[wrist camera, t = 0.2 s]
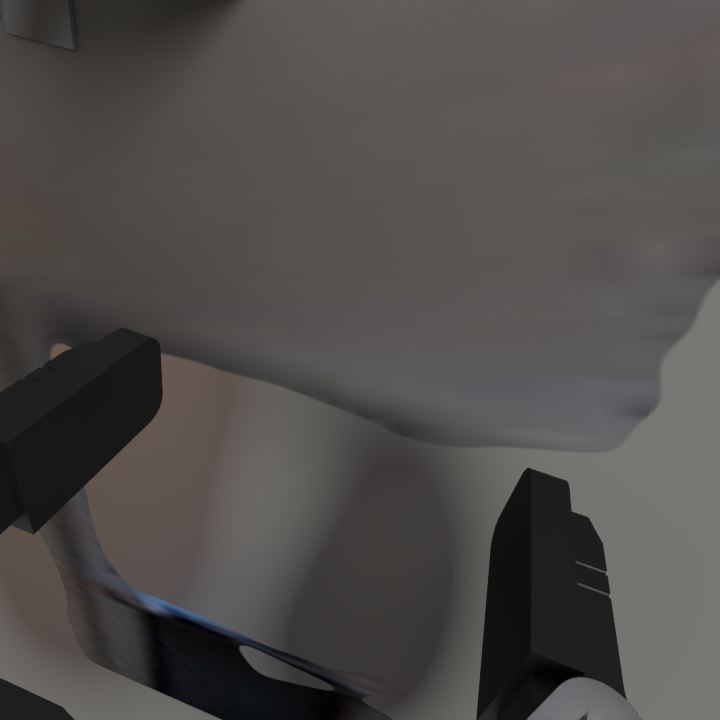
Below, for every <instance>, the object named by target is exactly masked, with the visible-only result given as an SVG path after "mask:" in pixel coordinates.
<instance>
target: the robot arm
mask: <svg viewBox="0 0 720 720" xmlns="http://www.w3.org/2000/svg"><path fill="white" fill-rule="evenodd" d="M162 393H163V391H162V372H161V350H160V344H159V342H158V341H157V340H156V339H154V338H151V337H148V336H145V335H142V334H139V333H136V332H134V331H131V330H128V329H124V328H121V329H117V330H116V331H114V332H112V333H111V334H109V335H108V336H106V337H105V338H103V339H102V340H100V341H99V342H97V343H96V344H95V343H92V342H91V343H88V344H85V345H82V346H79V347H76V348H73V349H70V350H67V351H65V352H63V353H62V354H60V355H58V356H57V357H55V358H53V359H52V360H50V361H49V362H47V363H46V364H44V365H43V368H38V369H36V370H35V371H33V372H31V373H30V374H28V375H27V376H26V378H25V379H24V380H22V379H20V380H19V381H17V382H16V383H14V384H13V385H11V386H10V387H8V388H6V389H5V390H3V391H2V392H0V534H1V533H2V532H3V531H4V530H6V529H7V528H8V527H9V526H10V525H12V526H15V527H17V528H20V529H22V530H24V531H27V532H29V533H32V534H35V533H36V532H37V531H38V530H39V529H40V528H41V527H42V526H43V525H44V524H45V523H46V522H47V521H48V520H49V519H50V518H51V517H52V516H53V515H55V514H56V513H57V512H58V511H59V510H60V509H61V508H62V507H63V506H64V505H65V504H66V503H67V502H68V501H69V500H70V499H71V498H72V497H73V496H74V495H75V494H76V493H77V492H78V491H79V490H80V489H81V488H82V487H84V486H85V484H87V483H88V481H90V480H91V479H92V478H93V477H94V476H95V475H96V474H97V473H98V472H99V471H100V470H101V469H102V468H103V467H104V466H105V465H106V464H107V463H108V462H109V461H110V460H111V459H112V458H114V457H115V456H116V454H118V452H120V451H121V450H122V449H123V448H124V447H125V446H126V445H127V444H128V443H129V442H130V441H131V440H132V439H133V438H134V437H135V436H136V435H137V434H138V433H139V432H140V431H141V430H142V429H144V428H145V427H146V426H147V425H148V424H149V423H150V422H151V420H152V419H153V418H154V417H155V415H156V413H157V412H158V410H159V408H160V405H161V401H162ZM606 571H607V569H606V561H605V555H604V548H603V543H602V542H601V539H600V538H599V536H598V534H597V532H596V530H595V529H594V527H593V525H592V523H591V521H590V519H589V518H588V517H586V516H583V515H580V514H577V513H574V512H572V511H571V501H570V489H569V484H568V482H567V481H566V480H563V479H559V478H557V477H554V476H551V475H548V474H545V473H542V472H539V471H536V470H533V469H530V468H527V469H526V470H525V471H524V472H523V474H522V476H521V478H520V479H519V481H518V483H517V485H516V487H515V489H514V491H513V492H512V494H511V496H510V498H509V500H508V502H507V503H506V505H505V507H504V509H503V511H502V513H501V515H500V517H499V519H498V521H497V524H496V526H495V530H494V533H493V537H492V542H491V550H490V562H489V574H488V586H487V598H486V610H485V622H484V634H483V635H484V636H483V647H482V658H481V670H480V683H479V694H478V706H477V718H476V720H642V718H641V717H640V716H639V714H638V713H637V711H636V710H635V709H634V708H633V707H632V705H631V704H630V703H629V702H628V701H627V699H626V695H625V691H624V686H623V679H622V672H621V666H620V658H619V652H618V645H617V638H616V630H615V624H614V617H613V610H612V603H611V599H610V598H609V594H610V589H609V582H608V576H606ZM0 720H74V719H73V718H72V717H71V716H70V715H69V714H68V713H67V711H66V710H65V709H64V708H63V707H61V706H59V705H57V704H55V703H52V702H50V701H48V700H46V699H44V698H42V697H40V696H37V695H35V694H33V693H31V692H29V691H27V690H25V689H22V688H20V687H18V686H16V685H14V684H12V683H10V682H8V681H6V680H3V679H1V678H0Z"/></svg>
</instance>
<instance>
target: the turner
mask: <svg viewBox="0 0 720 720" xmlns="http://www.w3.org/2000/svg"><path fill="white" fill-rule="evenodd" d="M0 3H1V8H0V15H1V16H2V14H3V20H4V26H5V32H7V33H10V34H14V35H18V36H22V37H25V38H29V39H33V40H37V41H40V42H44V43H48V44H52V45H56V46H59V47H63V48H67V49H71V50H77V43H76V34H75V24H74V15H73V5H72V0H0ZM1 9H2V14H1Z"/></svg>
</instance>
